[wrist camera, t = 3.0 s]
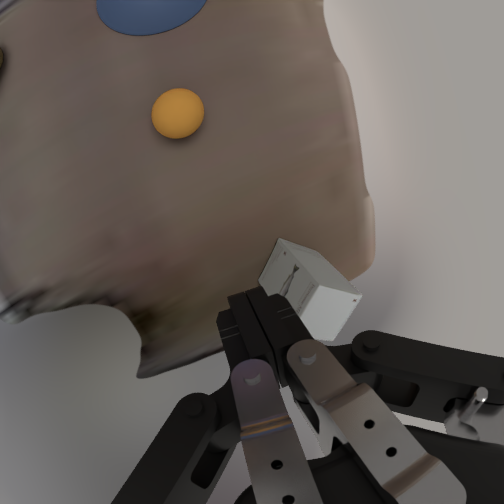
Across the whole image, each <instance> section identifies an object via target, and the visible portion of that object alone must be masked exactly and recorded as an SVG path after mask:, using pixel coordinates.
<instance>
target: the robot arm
mask: <svg viewBox="0 0 504 504" xmlns="http://www.w3.org/2000/svg"><path fill="white" fill-rule="evenodd" d="M245 294H246V295H245ZM227 298H228V302H229V305H230V308H231V309H228V310H224V311H221V312H219V314H218V317H217V321H216V323H217V326H218V330H219V333H220V336H221V340H222V343H223V347H224V350H225V353H226V356H227V360H228V363H229V366H230V376H229V379H228V381H227V382H226V383H225V385H224V386H223V387H221V388H220V389H219V390H217V391H215V392H214V393H212V394H211V395H207V394H204V393H192V394H189V395H187V396H185V397H183V398H182V399H181V400H180V401H179V402H178V403H177V405H176V407H175V408H174V409H173V411H172V413H171V415H170V416H169V417H168V419H167V420H166V422H165V423H164V425H163V426H162V428H161V429H160V431H159V432H158V434H157V436H156V437H155V439H154V440H153V442H152V443H151V445H150V446H149V448H148V449H147V451H146V452H145V454H144V455H143V457H142V458H141V460H140V461H139V463H138V464H137V466H136V467H135V469H134V470H133V472H132V473H131V475H130V476H129V478H128V479H127V481H126V482H125V484H124V485H123V486H122V488H121V490H120V491H119V492H118V494H117V495H116V497H115V498H114V500H113V501H112V503H111V504H206V502H207V501H208V499H209V497H210V495H211V493H212V492H213V490H214V488H215V486H216V484H217V482H218V481H219V479H220V477H221V475H222V473H223V471H224V469H225V467H226V465H227V463H228V461H229V459H230V458H231V455H232V454H233V451H234V449H235V447H236V445H237V443H238V442H240V441H242V446H243V451H244V455H245V459H246V463H247V466H248V471H249V475H250V479H251V483H252V485H250V486H249V487H248V488H247V489H245V491H243V492H242V493H241V495H240V496H239V497H238V498H237V500H236V501H235V503H234V504H504V358H503V357H497V356H491V355H486V354H481V353H475V352H470V351H465V350H460V349H454V348H450V347H445V346H440V345H436V344H431V343H427V342H422V341H418V340H413V339H409V338H405V337H400V336H396V335H392V334H388V333H383V332H379V331H375V330H368V331H364V332H361V333H359V334H358V335H357V336H355V338H354V339H353V341H352V344H346V345H340V346H326V345H324V344H323V343H321V342H319V341H317V340H315V339H314V338H313V337H312V335H311V334H310V332H309V331H308V329H307V328H306V326H305V325H304V323H303V322H302V320H301V319H300V317H299V316H298V315H297V314H296V312H295V310H294V309H293V308H292V306H291V304H290V303H289V301H288V300H287V298H285V297H283V296H282V295H280V294H278V293H276V294H273V295H270V296H268V295H267V293H266V292H265V290H264V288H263V287H262V286H259V287H256V288H253V289H250V290H247V291H245V293H244V292H241V293H238V294H235V295H231V296H228V297H227ZM279 382H280V384H281V386H282V388H283V387H286V386H288V385H289V387H290V389H291V391H292V394H293V399H294V402H295V404H296V405H297V407H298V409H299V410H300V412H301V413H302V415H303V417H304V418H305V420H306V422H307V423H308V425H309V426H310V428H311V430H312V431H313V433H314V434H315V436H316V438H317V440H318V442H319V445H320V447H321V450H322V451H323V453H324V455H325V457H323V458H318V459H312V460H306V457H305V455H304V452H303V449H302V447H301V444H300V441H299V439H298V436H297V433H296V431H295V428H294V425H293V422H292V420H291V418H290V417H289V415H288V412H287V410H286V407H285V404H284V401H283V398H282V396H281V393H280V390H279V389H280V385H279ZM392 411H394V412H397V413H401V414H405V415H409V416H413V417H418V418H422V419H426V420H431V421H435V422H440V423H444V424H445V428H446V432H447V434H443V433H439V432H435V431H431V430H427V429H423V428H419V427H416V426H411V425H403V424H402V423H401V422H400V420H399V419H398V418H397V417H396V416H395V415H394V414H393V412H392Z"/></svg>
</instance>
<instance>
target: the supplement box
mask: <svg viewBox="0 0 504 504" xmlns="http://www.w3.org/2000/svg"><path fill="white" fill-rule="evenodd" d="M258 281H259V283H260V285H261V286H262V287H263V288H264V290H265V292H266V293H267V295H268V296H270V295H273V294H276V293H278V294H280V295H282V296H283V297H285V298H287V300H288V301H289V303H290V304H291V306H292V308H293V309H294V310H295V312H296V314H297V315H298V316H299V317H300V319H301V320H302V322H303V323H304V325H305V326H306V328H307V329H308V331H309V332H310V334H311V335H312V337H313V338H314V339H318V340H326V341H333V340H334V339H335V338H336V336H337V335H338V333H339V332H340V330H341V329H342V327H343V326H344V324H345V323H346V321H347V320H348V318H349V317H350V315H351V313H352V312H353V310H354V309H355V307H356V306H357V304H358V302H359V301H360V299H361V298H362V296H363V295H362V294H361V293H360V292H359V291H358V290H357V289H356V288H355V287H354V286H353V285H352V284H351V283H350V282H349V281H348V280H347V279H346V278H345V277H344V276H343V275H342V274H341V273H340V272H339V271H338V270H336V269H335V268H334V267H333V266H332V265H331V264H330V263H329V262H328V261H327V260H326V259H325V258H324V257H323V256H322V255H321V254H320V253H319V252H317V251H315V250H312V249H310V248H307V247H304V246H301V245H298V244H295V243H292V242H290V241H287V240H284V239H281V238H279V239H278V241H277V243H276V245H275V248H274V250H273V252H272V254H271V256H270V258H269V260H268V262H267V264H266V266H265V268H264V270H263V272H262V274H261V276H260V278H259V279H258Z"/></svg>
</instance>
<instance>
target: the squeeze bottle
mask: <svg viewBox="0 0 504 504" xmlns="http://www.w3.org/2000/svg"><path fill="white" fill-rule="evenodd" d="M2 63H3V53H2V50H1V48H0V68H1V65H2Z"/></svg>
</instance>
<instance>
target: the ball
mask: <svg viewBox="0 0 504 504" xmlns="http://www.w3.org/2000/svg"><path fill="white" fill-rule="evenodd" d="M151 116H152V122H153V125H154V127H155V128H156V130H157V131H158V132H159V133H160V134H162V135H163V136H166V137H168V138H173V139H178V138H184V137H187V136H189V135H191V134H192V133H193V132H195V131H196V130H197V129H198V127H199V126H200V125H201V123H202V120H203V117H204V107H203V103H202V101H201V99H200V98H199V97H198V96H197V95H196V94H195V93H194V92H192V91H190V90H187V89H183V88H176V89H171V90H168V91H166V92H165V93H163V94H162V95H161V96H159V98H158V99H157V100H156V101H155V103H154V105H153V108H152V113H151Z"/></svg>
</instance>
